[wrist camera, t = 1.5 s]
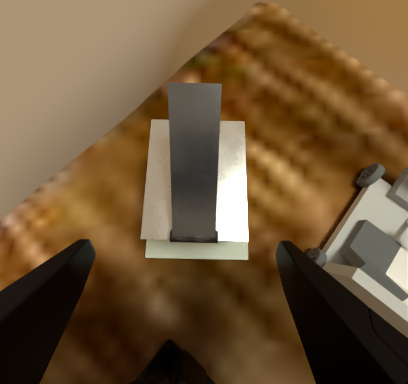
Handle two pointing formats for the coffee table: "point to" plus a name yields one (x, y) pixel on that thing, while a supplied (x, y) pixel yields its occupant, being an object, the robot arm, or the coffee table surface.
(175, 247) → the board
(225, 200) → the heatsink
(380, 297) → the toy car
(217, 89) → the strap
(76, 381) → the coffee table surface
